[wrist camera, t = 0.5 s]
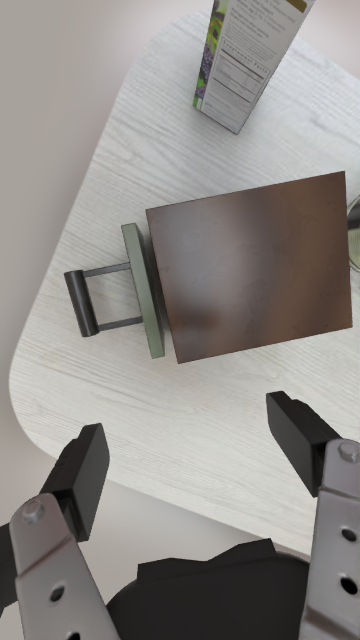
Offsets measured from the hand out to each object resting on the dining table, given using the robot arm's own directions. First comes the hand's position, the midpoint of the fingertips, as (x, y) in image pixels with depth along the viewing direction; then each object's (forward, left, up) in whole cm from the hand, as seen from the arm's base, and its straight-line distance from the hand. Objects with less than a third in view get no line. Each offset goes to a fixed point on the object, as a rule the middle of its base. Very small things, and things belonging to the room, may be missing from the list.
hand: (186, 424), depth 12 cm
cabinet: (-6, +8, -20) cm, 22 cm away
